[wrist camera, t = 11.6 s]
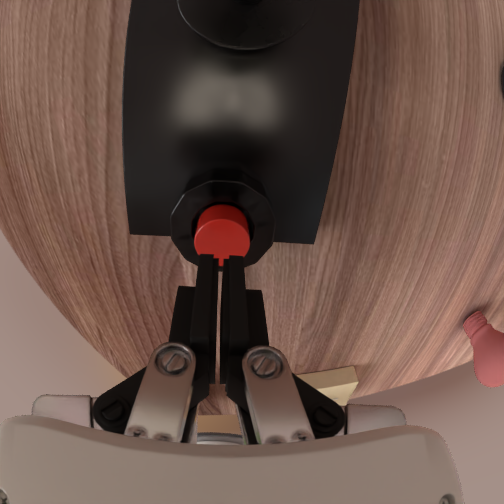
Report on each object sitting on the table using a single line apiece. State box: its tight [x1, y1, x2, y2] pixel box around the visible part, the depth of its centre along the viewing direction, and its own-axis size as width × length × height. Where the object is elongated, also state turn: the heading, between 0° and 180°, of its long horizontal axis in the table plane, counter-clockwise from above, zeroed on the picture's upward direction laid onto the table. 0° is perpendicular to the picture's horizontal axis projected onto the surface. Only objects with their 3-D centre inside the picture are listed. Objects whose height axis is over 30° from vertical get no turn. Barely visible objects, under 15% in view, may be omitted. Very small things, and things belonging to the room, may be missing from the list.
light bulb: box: [463, 311, 504, 387], centre depth 25 cm, size 7×7×12 cm
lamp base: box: [122, 0, 360, 272], centre depth 13 cm, size 19×12×4 cm, turn 174°
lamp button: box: [194, 204, 250, 266], centre depth 15 cm, size 3×3×2 cm
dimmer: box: [296, 366, 359, 406], centre depth 33 cm, size 12×8×3 cm
